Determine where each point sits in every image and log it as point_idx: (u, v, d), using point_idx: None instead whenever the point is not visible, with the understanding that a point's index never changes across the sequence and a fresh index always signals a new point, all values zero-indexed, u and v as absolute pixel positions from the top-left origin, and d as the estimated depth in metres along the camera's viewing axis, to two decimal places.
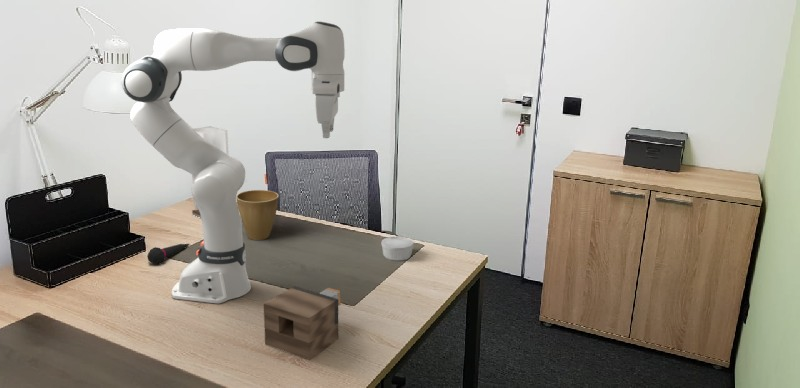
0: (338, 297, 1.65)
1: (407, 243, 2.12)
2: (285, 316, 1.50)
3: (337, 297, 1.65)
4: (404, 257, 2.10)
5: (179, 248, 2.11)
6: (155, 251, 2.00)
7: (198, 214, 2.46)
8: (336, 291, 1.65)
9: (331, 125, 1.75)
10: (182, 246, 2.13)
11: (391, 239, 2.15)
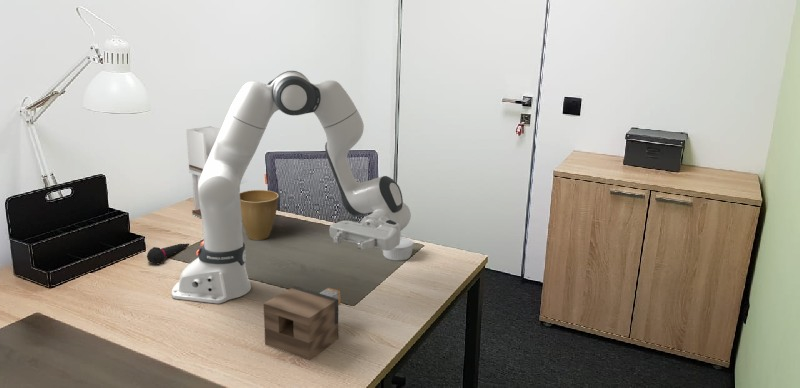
0: (338, 297, 1.65)
1: (407, 243, 2.12)
2: (285, 316, 1.50)
3: (337, 297, 1.65)
4: (404, 257, 2.10)
5: (179, 248, 2.11)
6: (154, 251, 2.00)
7: (198, 214, 2.46)
8: (336, 291, 1.65)
9: None
10: (182, 246, 2.13)
11: None
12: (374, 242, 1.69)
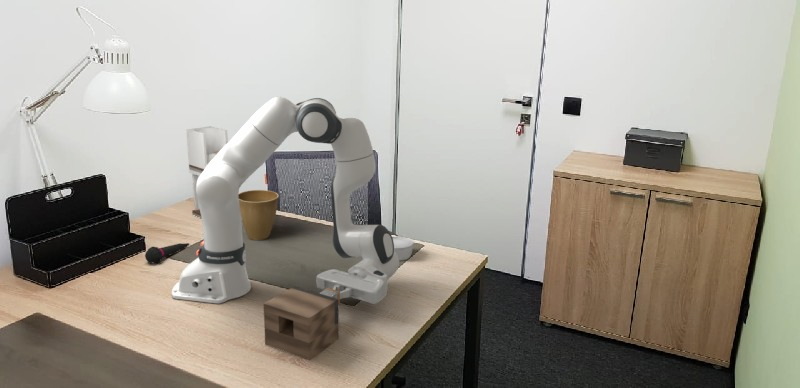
0: (337, 297, 1.65)
1: (407, 243, 2.12)
2: (285, 316, 1.50)
3: (336, 297, 1.64)
4: (404, 257, 2.10)
5: (178, 247, 2.12)
6: (152, 250, 2.00)
7: (198, 214, 2.46)
8: (335, 291, 1.65)
9: None
10: (181, 246, 2.13)
11: None
12: (351, 292, 1.69)
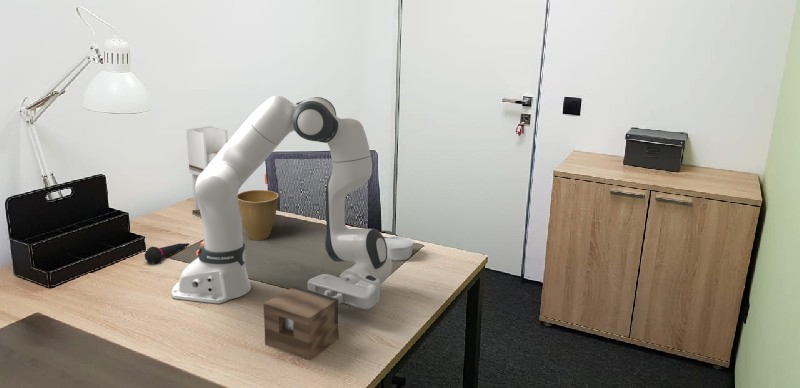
0: None
1: (407, 243, 2.12)
2: (285, 316, 1.50)
3: None
4: (404, 257, 2.10)
5: (178, 248, 2.12)
6: (152, 250, 2.00)
7: (198, 214, 2.46)
8: None
9: None
10: (181, 246, 2.14)
11: (391, 239, 2.15)
12: (342, 297, 1.66)
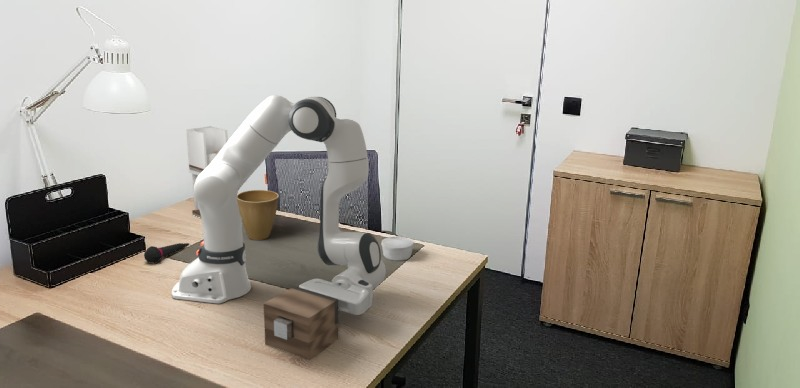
0: None
1: (407, 243, 2.12)
2: (285, 316, 1.50)
3: None
4: (404, 257, 2.10)
5: (177, 247, 2.12)
6: (151, 250, 2.01)
7: (198, 214, 2.46)
8: None
9: None
10: (181, 245, 2.14)
11: (391, 239, 2.15)
12: None
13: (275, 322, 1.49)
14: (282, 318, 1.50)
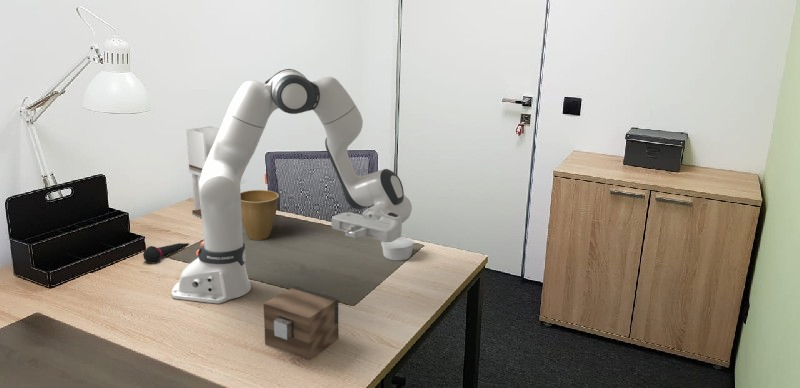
0: None
1: (407, 243, 2.12)
2: (285, 316, 1.50)
3: None
4: (404, 257, 2.10)
5: (177, 247, 2.12)
6: (150, 250, 2.01)
7: (198, 214, 2.46)
8: None
9: None
10: (181, 245, 2.14)
11: None
12: (366, 231, 1.73)
13: (275, 322, 1.49)
14: (282, 318, 1.50)
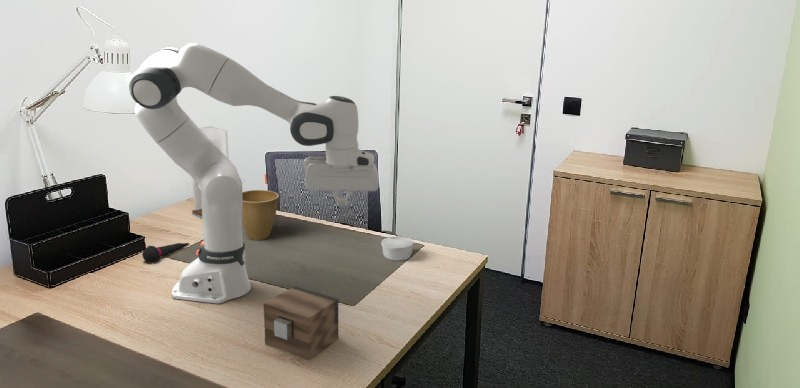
0: None
1: (407, 243, 2.12)
2: (285, 316, 1.50)
3: None
4: (404, 257, 2.10)
5: (177, 247, 2.12)
6: (149, 249, 2.01)
7: (198, 214, 2.46)
8: None
9: (340, 198, 1.72)
10: (180, 245, 2.14)
11: (391, 239, 2.15)
12: None
13: (275, 322, 1.49)
14: (282, 318, 1.50)
